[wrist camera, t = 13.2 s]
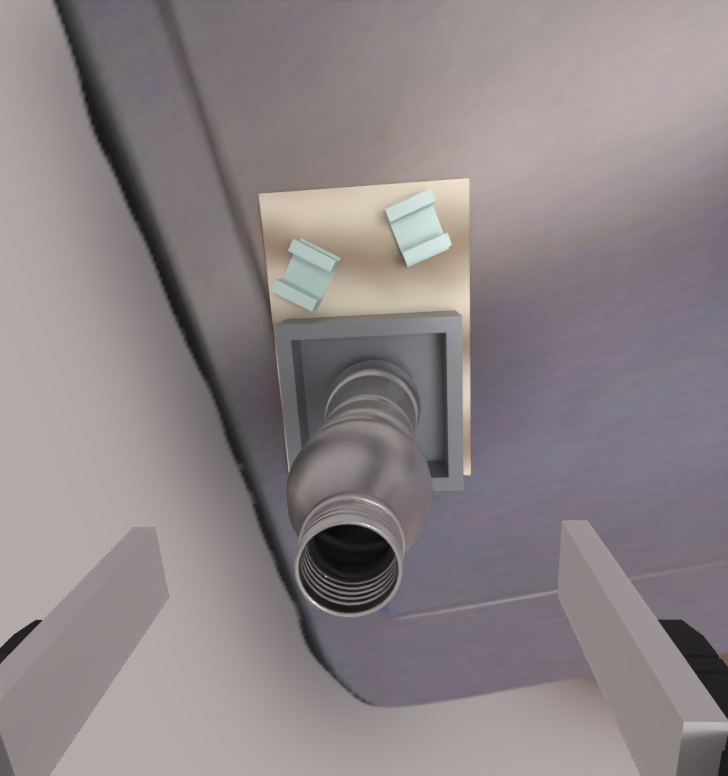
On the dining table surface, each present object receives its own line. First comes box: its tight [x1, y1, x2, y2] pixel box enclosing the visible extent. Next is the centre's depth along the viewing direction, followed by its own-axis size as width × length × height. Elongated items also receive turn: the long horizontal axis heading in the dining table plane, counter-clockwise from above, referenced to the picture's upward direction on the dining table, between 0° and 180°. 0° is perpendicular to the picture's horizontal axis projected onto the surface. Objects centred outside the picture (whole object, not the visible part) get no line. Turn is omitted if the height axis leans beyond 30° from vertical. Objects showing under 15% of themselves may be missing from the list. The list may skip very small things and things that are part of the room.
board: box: [259, 178, 471, 475], centre depth 35 cm, size 21×14×1 cm, turn 3°
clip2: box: [271, 238, 341, 312], centre depth 32 cm, size 4×3×3 cm
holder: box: [274, 310, 464, 491], centre depth 34 cm, size 12×12×4 cm
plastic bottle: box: [286, 360, 433, 618], centre depth 25 cm, size 6×7×20 cm
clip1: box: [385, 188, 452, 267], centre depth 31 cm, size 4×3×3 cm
